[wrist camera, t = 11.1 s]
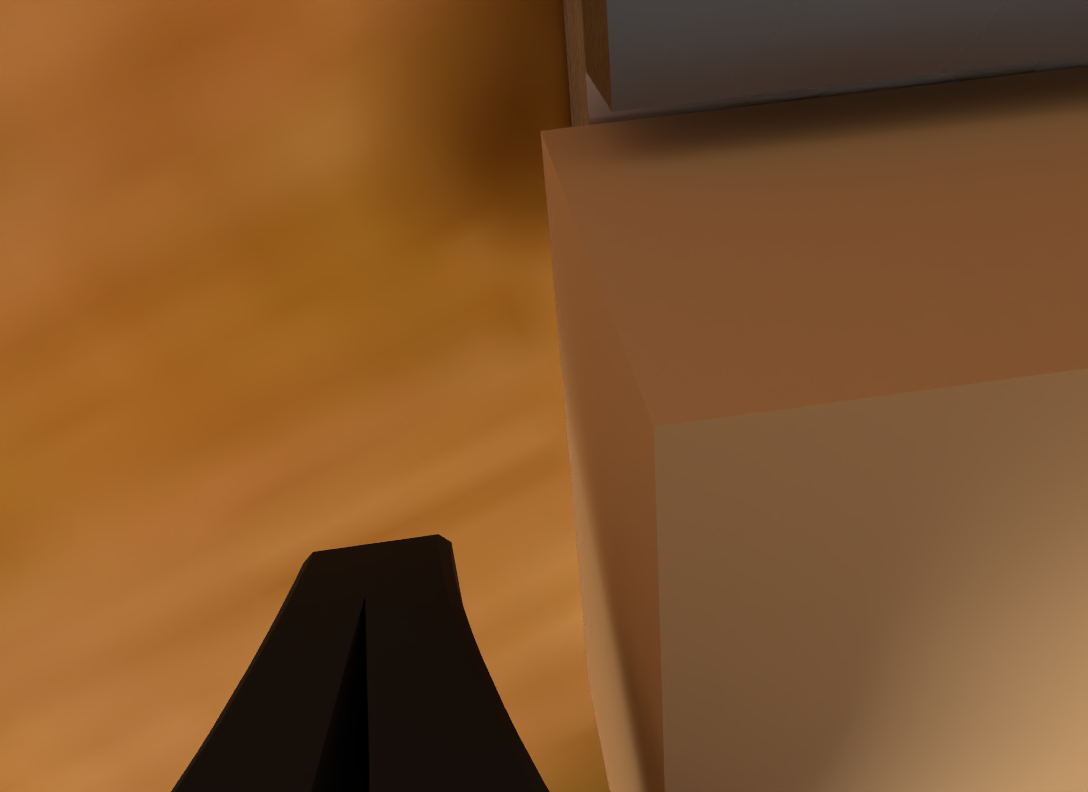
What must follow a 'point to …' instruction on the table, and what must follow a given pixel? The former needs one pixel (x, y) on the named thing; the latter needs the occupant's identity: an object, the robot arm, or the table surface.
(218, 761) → the robot arm
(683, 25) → the frame
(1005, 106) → the tan cardboard box
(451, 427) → the table surface
